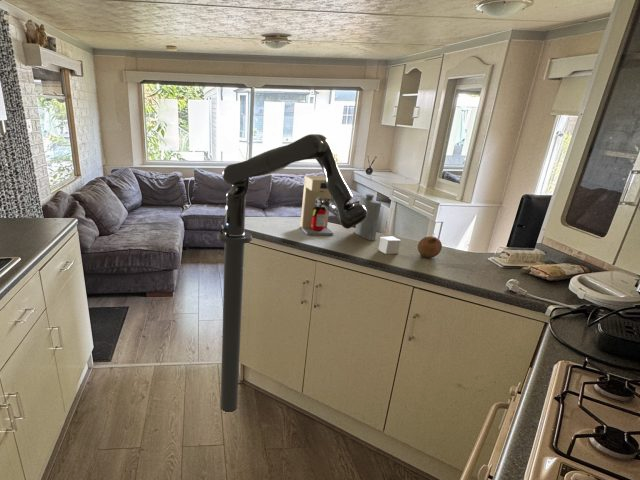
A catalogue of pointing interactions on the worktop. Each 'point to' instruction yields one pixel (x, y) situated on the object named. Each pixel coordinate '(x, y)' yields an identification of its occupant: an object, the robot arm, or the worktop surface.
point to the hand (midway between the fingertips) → (327, 199)
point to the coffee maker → (313, 190)
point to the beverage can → (318, 218)
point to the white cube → (389, 245)
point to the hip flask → (369, 218)
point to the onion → (429, 246)
